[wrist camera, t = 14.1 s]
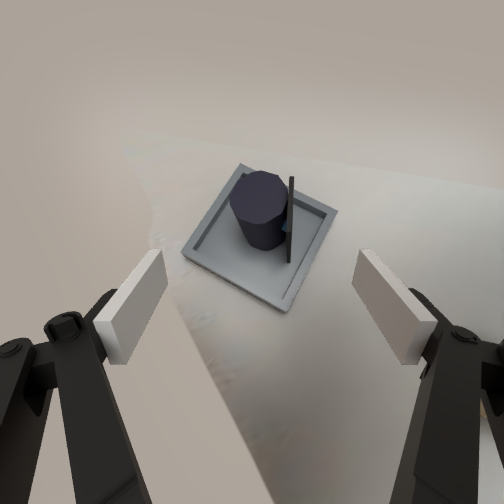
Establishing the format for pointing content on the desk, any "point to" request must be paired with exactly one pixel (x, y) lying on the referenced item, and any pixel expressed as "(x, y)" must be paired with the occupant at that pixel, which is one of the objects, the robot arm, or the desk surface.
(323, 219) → the tray
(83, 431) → the robot arm
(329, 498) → the desk surface
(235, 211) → the dark cylinder with plate
